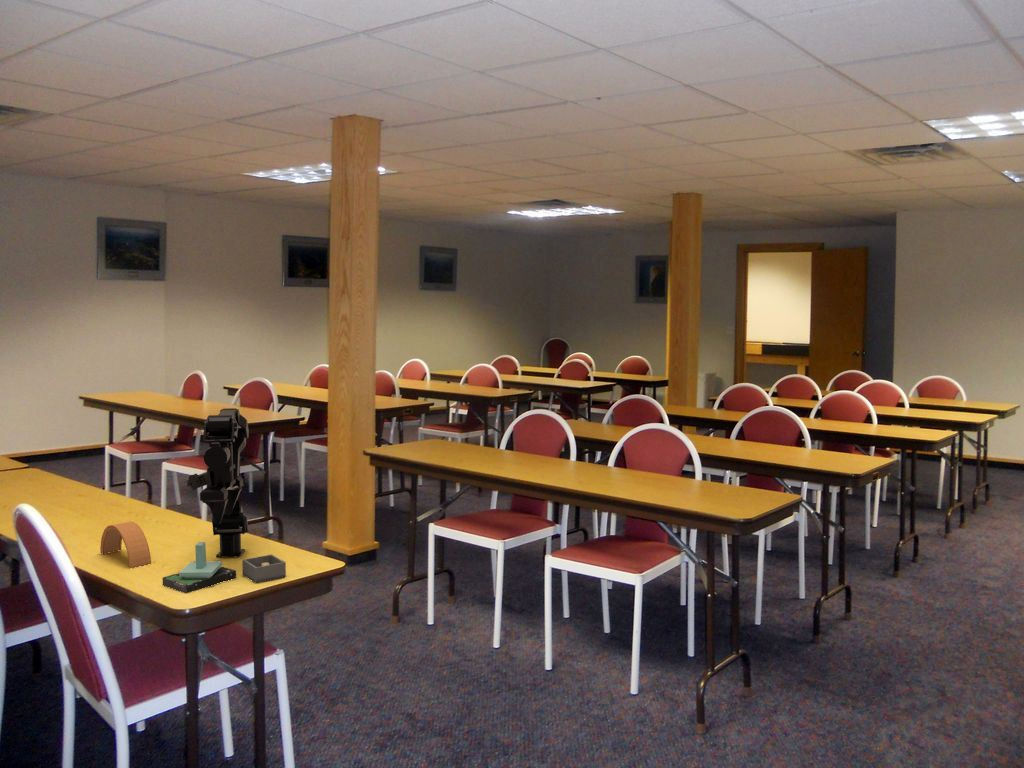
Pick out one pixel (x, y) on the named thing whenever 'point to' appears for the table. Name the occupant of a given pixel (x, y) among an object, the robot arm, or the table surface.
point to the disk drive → (198, 580)
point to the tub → (264, 568)
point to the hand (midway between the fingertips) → (223, 519)
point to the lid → (200, 565)
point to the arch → (127, 542)
